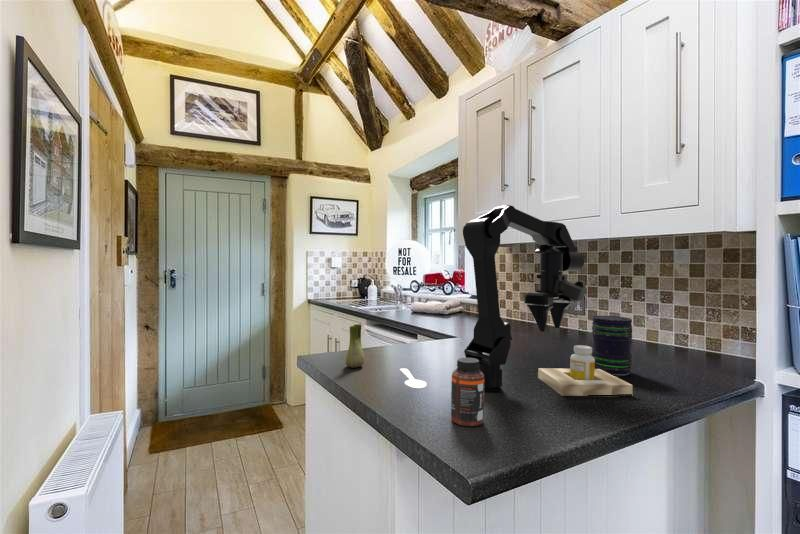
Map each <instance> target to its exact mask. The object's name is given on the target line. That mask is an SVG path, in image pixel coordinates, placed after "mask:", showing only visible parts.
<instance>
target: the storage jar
mask: <svg viewBox="0 0 800 534" xmlns="http://www.w3.org/2000/svg"><path fill="white" fill-rule="evenodd" d="M632 323H633V319H632V318H630V317H626V316H625V317H624V316H623V317H622V316H615V315H594V316H592V324H591V336H592V354H591V356H593V357H594V359H595V369H601V370H603V371H605V372H607V373H609V374H627V373H630V372H631V373H632V371H631V369H632V364H633V363H632V358H633V356H632V354H631V342H632V339H633V334H632V333H633V325H632Z"/></svg>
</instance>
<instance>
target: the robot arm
mask: <svg viewBox="0 0 800 534" xmlns="http://www.w3.org/2000/svg"><path fill="white" fill-rule="evenodd" d="M509 228H511V229H515V230H517V231H520V232H522V233H524V234H526V235H529V236H530V237H531V238H532V240H533V241H534V242H535V243H536V244H538V245H539V247H537V248H536V249H535V251H534V254H539V274H536V279H539V286H538V287H539V289H536V291H535V292H534V291H531V292H527V293H525V295H524V296H523V297H524V301H523V302H524V303H523V304H526V307H528V309H529V311H530V313H531V314H532V316H533V318H534V320H535V323H536V325H537V327H538V330H539V331H540V332H541V333H545V332H546V329H547V321H548V315H549V312H550V315H551V318H552V323H553V325H554V328H555V329H560V327H561V324H562V321H563V319H564V315H565V313H566V310H567V309H568V308H569V307H570V306H571V305H573V303H574V302H578V301H583V299H584V296H585V295H587V294H588V291H587V290H588V288H587V286H586V282H584V281H581V280H578V281H576V282H575V283H574V282H570V281H568V280H567V277H568V276H566V274H564V272H578V271H580V270H582V268H583V267H584V264H585V258H584V255H583V254H582V253H581V252H579V250H578V249H579V248H578V246H575V243H574V241H573V240H572V239H573V238H572V237H571V235H570V231H569V230H568V228H567V226H566V225H565V224H564V223H563V222H557V221H545V220H543V219H542V220H541V219H540V218H537V217H535V216H533V215H530V214H529V213H526V212H523V211H522V210H519V209H517V208H515V206H513V205H511V204H507V205H499V206H496V207H494V208H492V209H491V210H490V211H489V212H487V213H485V214H483V215H480V216H479V217H476V218H475V219H471V220H468V221H467V222H466V223H465V225H464V226H463V227H462V236H463V240H464V245H465V248H466V250H468V253H469V254H470V255H471V257H472V262H473V271H474V280H475V282H474V283H475V293H476V302H477V312H478V313H477V314H478V315H477V316H478V319H477V321H476V323H475V325H474V327H473V338H472V339H471V341H470V342H469V344H468V345H467V346H466V348H465V349H464V351H463V353H464V358H475V359H478V360H479V369H480V371H481V372H482V373H483V374H484V393H485V392H490V393H491V392H492V393H493V392H495V393H496V392H497V393H498V392H501V393H502V392H503V388H502V387H503V369H502V368H501V366H502V365H506V363H507V360H508V356H509V352H510V349H511V345H512V344H511V342H512V341H513V337H512V334H511V330H512V329H511V324H510V323H509V322H505V321H503V319H502V317H501V312H500V301H499V287H498V281H497V280H498V279H497V269H496V267H497V266H496V254H497V252H498V249H499V248H500V246H501V234H503V233H504V232H505V231H506V230H508V229H509Z"/></svg>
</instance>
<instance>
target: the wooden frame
mask: <svg viewBox="0 0 800 534" xmlns="http://www.w3.org/2000/svg"><path fill="white" fill-rule="evenodd" d="M537 379H539V380H540V381H541V382H542V383H544V384H546V386H548V387H549V388H551V389H552V390H553V391H555V392H556V393H557V394H559V395H560V396H562V397H563V396H566V397H567V396H569V397H572V396H573V397H579V396H580V397H581V396H582V397H589V396H588V395H617V394H632V395H633V392H634V391H633V389H634V387H633V384H631V383H629V382H627V381H626V380H623V379H621V378H619V377H618V376H613V375H611V374H609V373H607V372H605V371H603V370H601V369H595V370H594V380H574V379H573V378H571V377H570V368H560V367H559V368H556V367H555V368H554V367H553V368H551V367H549V368H548V367H547V368H545V367H543V368H542V367H540V368H538V371H537Z"/></svg>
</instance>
